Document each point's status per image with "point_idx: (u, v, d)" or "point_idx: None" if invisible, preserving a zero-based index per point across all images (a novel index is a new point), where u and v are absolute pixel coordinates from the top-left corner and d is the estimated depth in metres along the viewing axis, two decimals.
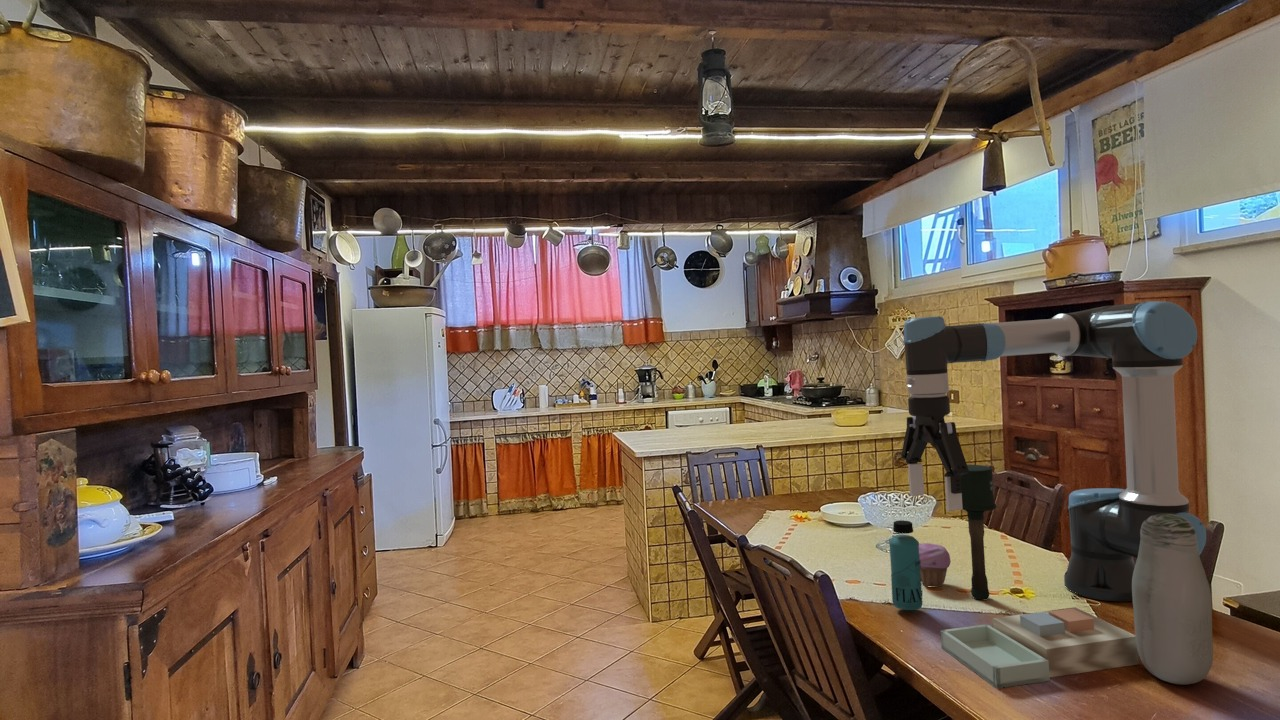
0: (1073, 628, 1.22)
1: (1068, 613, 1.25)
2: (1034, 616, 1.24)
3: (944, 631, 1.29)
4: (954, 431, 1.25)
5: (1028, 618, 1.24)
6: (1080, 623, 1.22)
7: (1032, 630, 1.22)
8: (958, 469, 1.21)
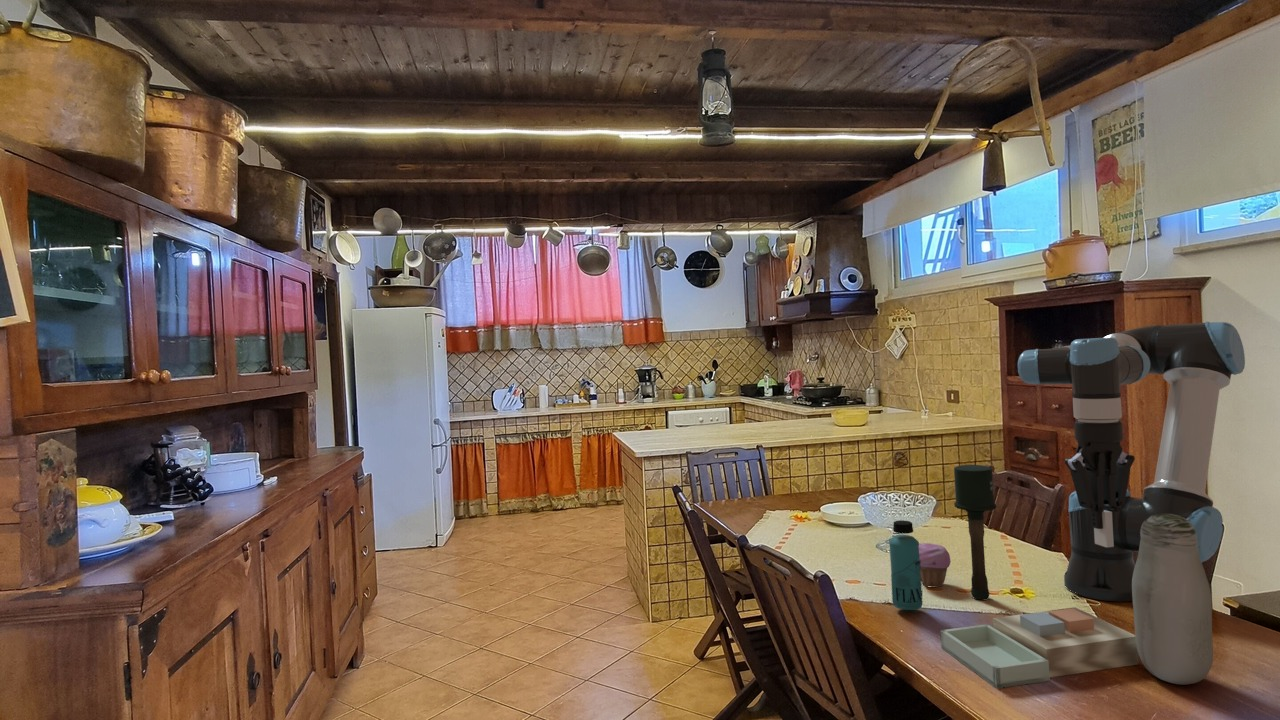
0: (1073, 628, 1.22)
1: (1068, 613, 1.25)
2: (1034, 616, 1.24)
3: (944, 631, 1.29)
4: (1077, 469, 1.23)
5: (1028, 618, 1.24)
6: (1080, 623, 1.22)
7: (1032, 630, 1.22)
8: (1081, 504, 1.25)
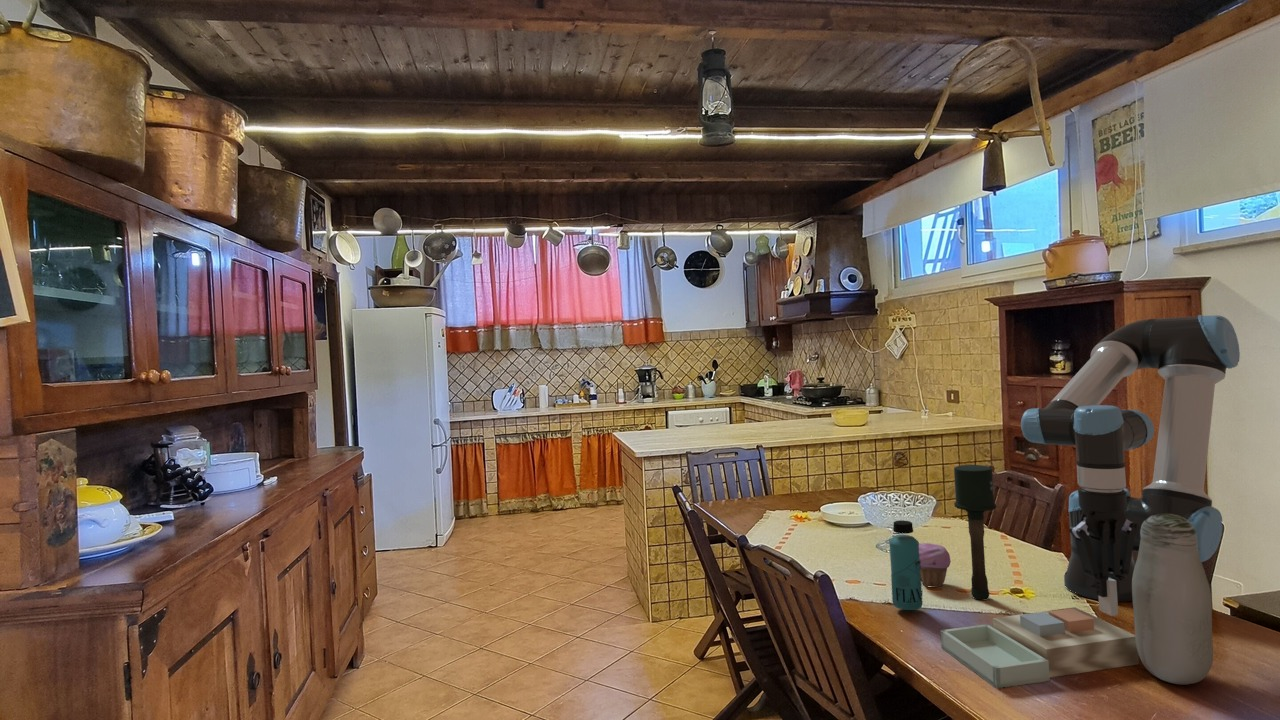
0: (1073, 628, 1.22)
1: (1068, 613, 1.25)
2: (1034, 616, 1.24)
3: (944, 631, 1.29)
4: (1081, 539, 1.24)
5: (1028, 618, 1.24)
6: (1080, 623, 1.22)
7: (1032, 630, 1.22)
8: (1085, 572, 1.26)
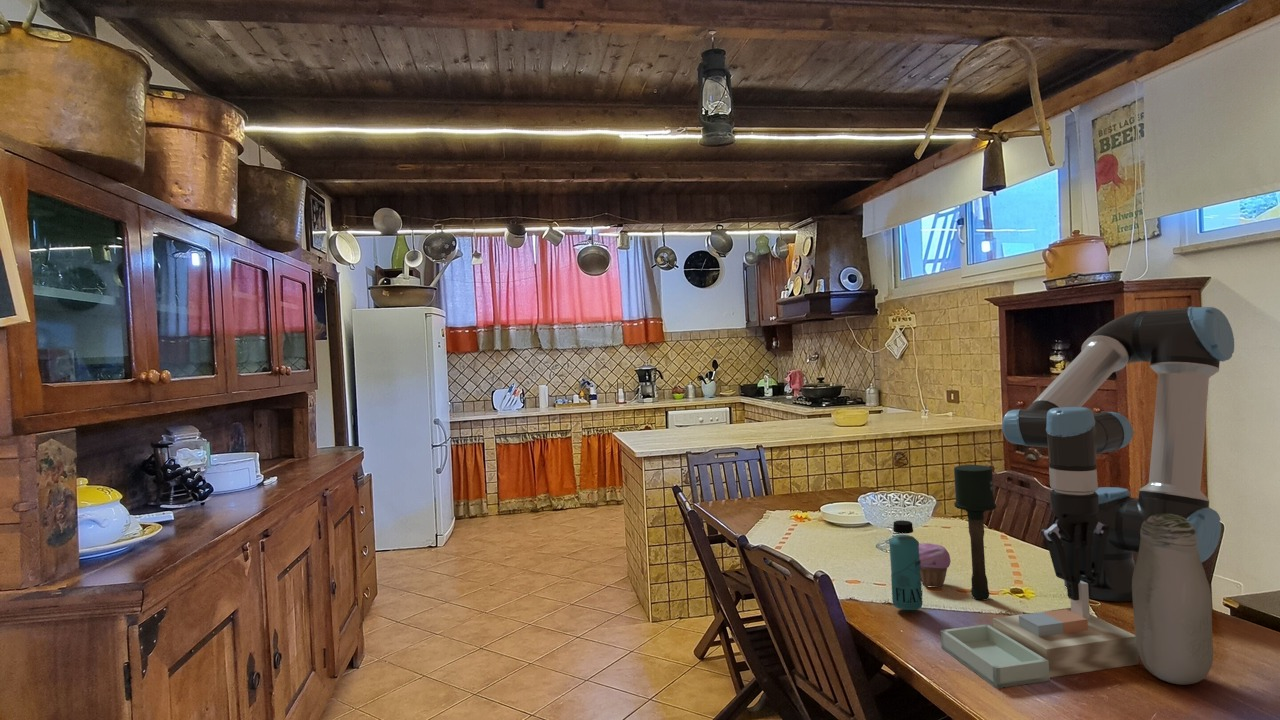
0: (1067, 629, 1.21)
1: (1062, 614, 1.25)
2: (1032, 617, 1.24)
3: (944, 631, 1.29)
4: (1053, 541, 1.23)
5: (1027, 618, 1.24)
6: (1074, 624, 1.22)
7: (1031, 630, 1.22)
8: (1057, 575, 1.25)
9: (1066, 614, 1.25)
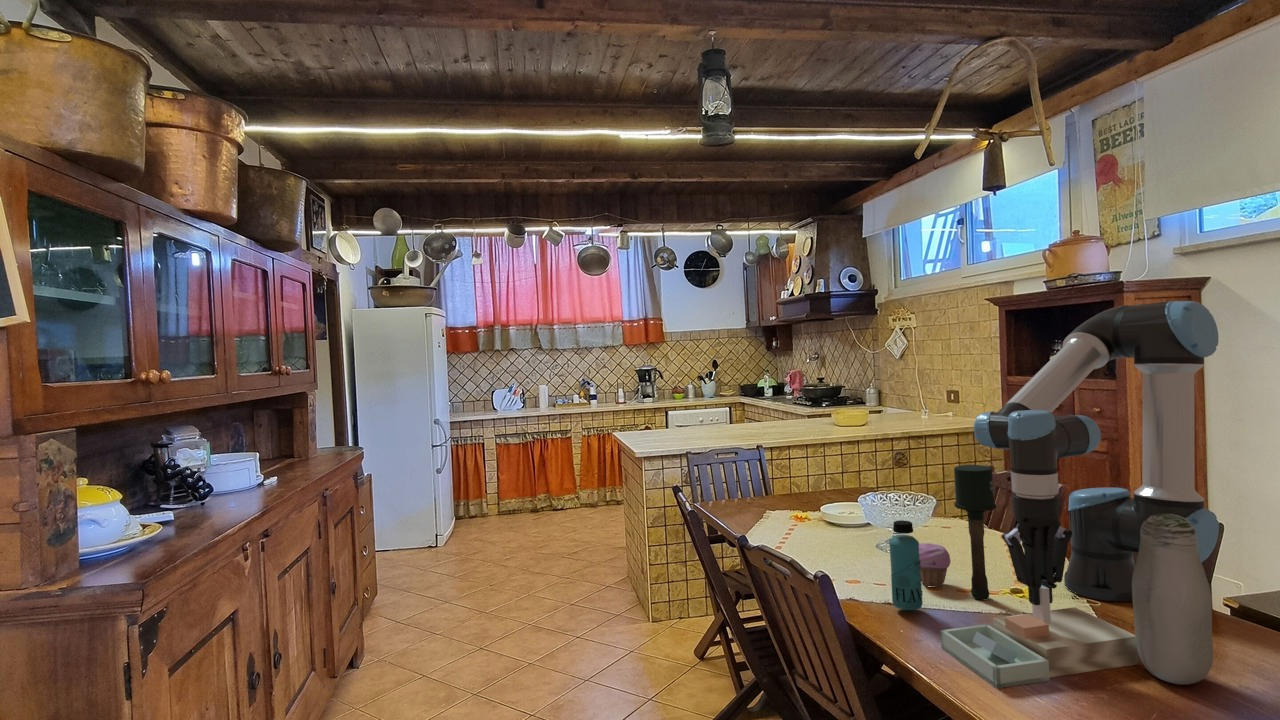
0: (1028, 634, 1.20)
1: (1024, 619, 1.23)
2: None
3: (944, 631, 1.29)
4: (1013, 546, 1.22)
5: None
6: (1035, 630, 1.20)
7: None
8: (1018, 580, 1.23)
9: (1028, 619, 1.23)
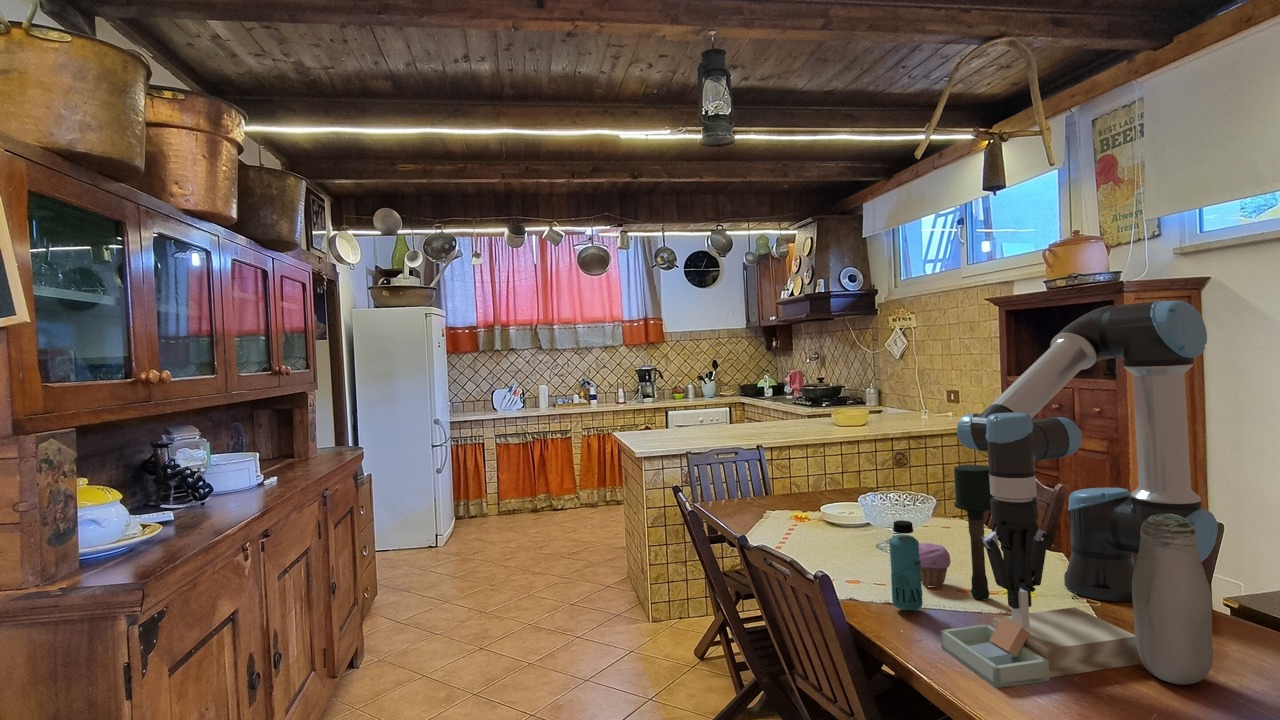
0: (1015, 650, 1.20)
1: (1002, 632, 1.23)
2: None
3: (944, 631, 1.29)
4: (991, 549, 1.21)
5: None
6: (1017, 641, 1.20)
7: None
8: (997, 583, 1.23)
9: (1005, 629, 1.23)
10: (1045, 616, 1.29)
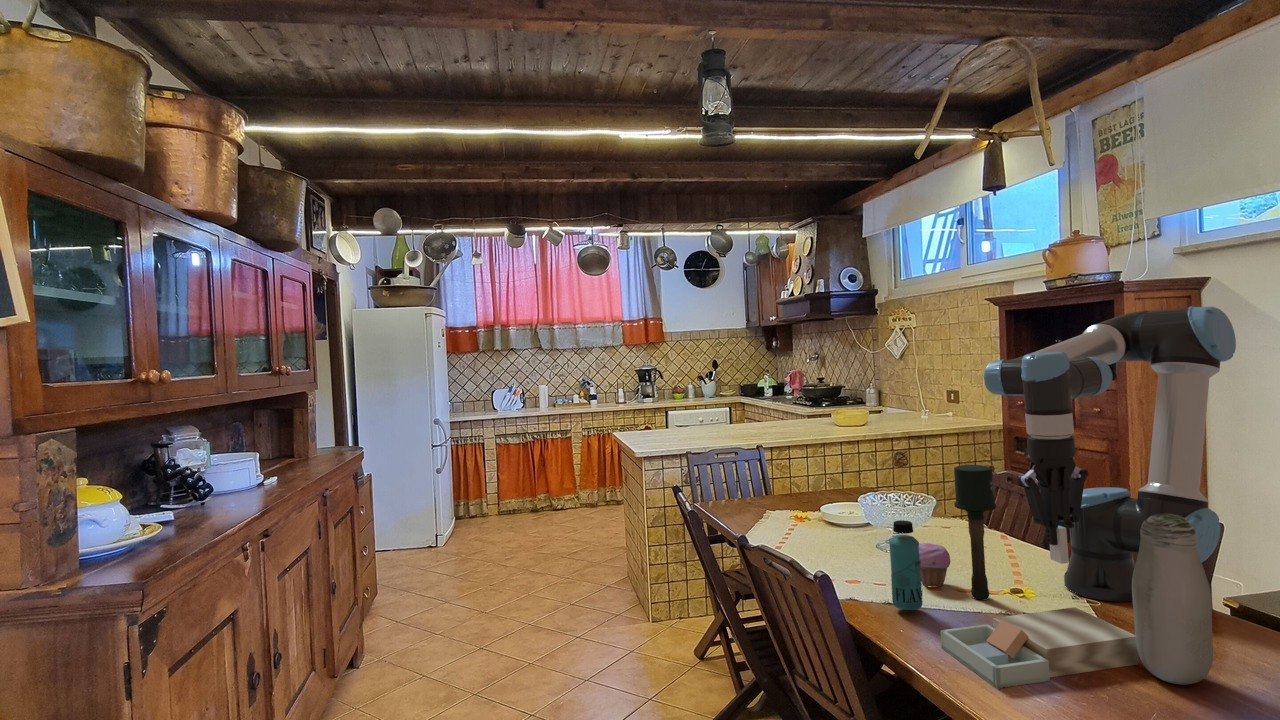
0: (1012, 652, 1.20)
1: (1001, 633, 1.23)
2: None
3: (944, 631, 1.29)
4: (1029, 487, 1.22)
5: None
6: (1015, 643, 1.20)
7: None
8: (1035, 521, 1.24)
9: (1004, 631, 1.23)
10: (1045, 616, 1.29)
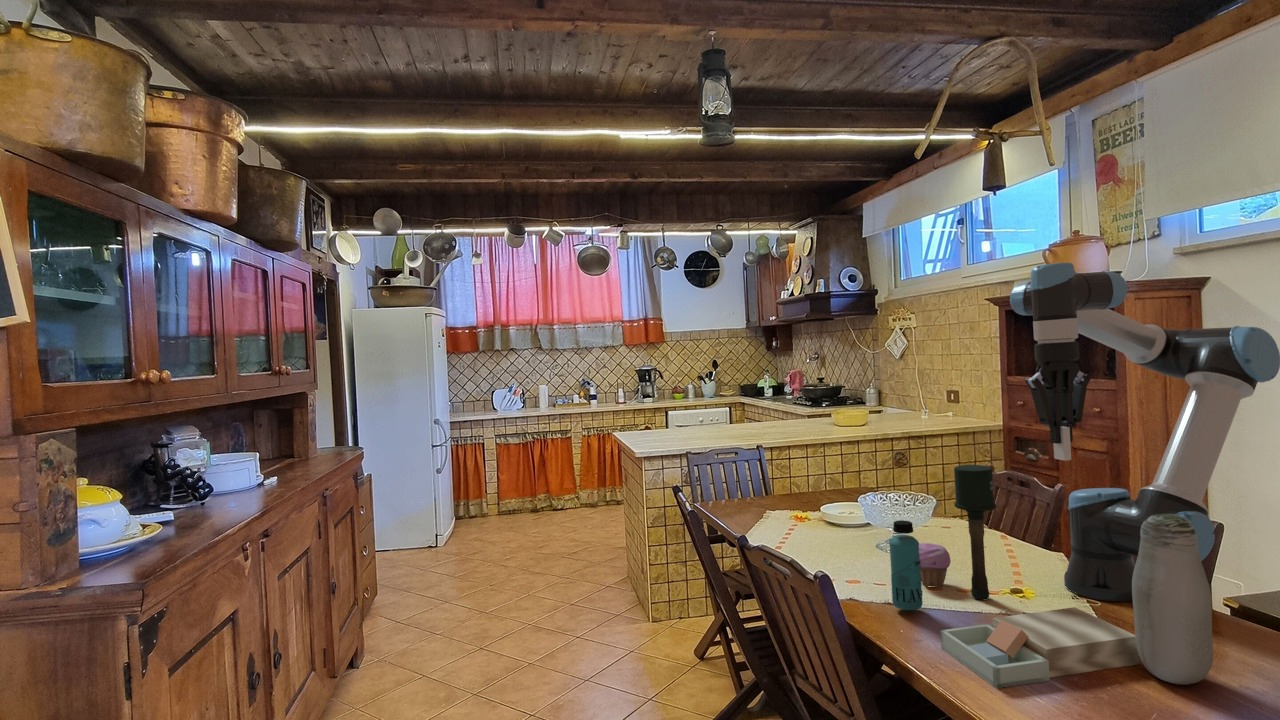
0: (1012, 652, 1.20)
1: (1001, 633, 1.23)
2: None
3: (944, 631, 1.29)
4: (1036, 387, 1.31)
5: None
6: (1015, 643, 1.20)
7: None
8: (1041, 421, 1.33)
9: (1004, 631, 1.23)
10: (1045, 616, 1.29)
